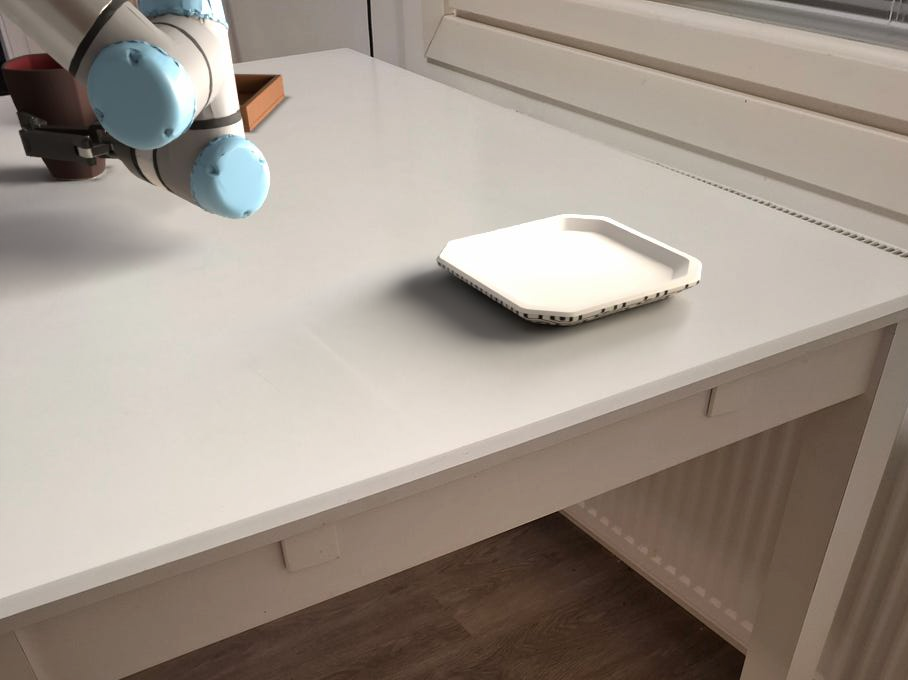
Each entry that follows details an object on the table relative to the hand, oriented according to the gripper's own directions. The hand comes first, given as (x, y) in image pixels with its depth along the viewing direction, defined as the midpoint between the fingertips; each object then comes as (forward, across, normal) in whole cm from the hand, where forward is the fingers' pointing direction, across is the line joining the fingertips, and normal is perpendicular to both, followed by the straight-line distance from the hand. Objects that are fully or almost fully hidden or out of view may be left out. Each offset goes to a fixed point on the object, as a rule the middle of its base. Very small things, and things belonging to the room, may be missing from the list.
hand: (78, 113), depth 109 cm
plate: (-65, +17, -7) cm, 67 cm away
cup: (0, 0, -7) cm, 7 cm away
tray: (+18, +24, -6) cm, 30 cm away
